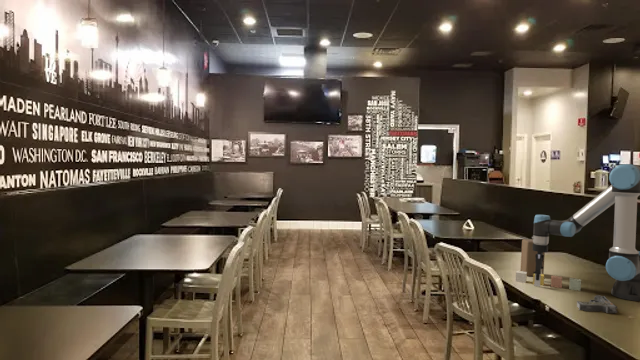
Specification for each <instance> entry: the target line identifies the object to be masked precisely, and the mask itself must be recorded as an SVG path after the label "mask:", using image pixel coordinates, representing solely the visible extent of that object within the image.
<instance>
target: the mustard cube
mask: <svg viewBox="0 0 640 360" xmlns="http://www.w3.org/2000/svg"><path fill="white" fill-rule="evenodd" d="M534 281H535V274H533V276H532V284H533V285H534ZM544 285H545V274H541V279H540V286H544Z"/></svg>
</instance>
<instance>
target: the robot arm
mask: <svg viewBox="0 0 640 360" xmlns="http://www.w3.org/2000/svg"><path fill="white" fill-rule="evenodd" d="M608 178H609V182H610V184H611V185H609V186H608V187H607V188H606V189H604V190H603V191H602V192H600V193H599V194H598V195H597V196H595V197H594V198H593V199H592V200H590V201H589V202H587V203H586V204H585V205H584V206H583V207H582V208H580V209H579V210H577V212H575V213H574V214H573V215H572V216H570V217H569V218H568V219H565V220H556V219H551V216H550V215H546V214H535V216H534V218H533V232H532V233H533V234H532V236H531V239H533V246H532V250H533V251H537V254H536V255H535V258H536V260H535V262H536V268H535V272H534V274H535V281H534V284H533V286H534V287H541V285H540V279H541V274H542V269H545V266H544V267H542V266H543V265H542V263H543V259H544V260H545V257H544V255H543V252H545V253H548V252H549V245H548V244H549V241H550V235H554V236H561V237H565V238H566V237H568V238H569V237H570V238H572V237H574V236H575V234H577V233H579V232H580V231H581V230H582V228H583V227H585V226H586V225H587V224H589V223H590V222H591V221H592V220H595V218H596V217H598V216H599V215H601V214H602V213H603V212H605V211H606V210H607V209H608V208H611V206H613V205H614V219H613V222H614V223H613V240H612V241H613V242H612V243H613V244H612V247H610V248H609V253H608V259H607V260H606V263H605V270H606V273H607V274H608V275H609V276H610V277H611V278H613V279H615V281H614V282H613V285H612V288H611V293H610V294H611V295H612V296H613V297H616V298H619V299H623V300H628V301H634V302H640V251H639V250H637V249H636V240H637V239H636V238H637V237H636V236H637V234H636V233H637V216H638V215H637V213H638V197H639V196H640V165H637V164H631V163H623V164H619V165H617V166H615V167H613V169H612V170H611V171H610V173H609V177H608Z"/></svg>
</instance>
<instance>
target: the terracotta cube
mask: <svg viewBox="0 0 640 360" xmlns="http://www.w3.org/2000/svg"><path fill="white" fill-rule="evenodd" d="M550 277H551V279H550V287H551V288H558V289H562V288H563V287H562V286H563V276H560V275H551V276H550Z"/></svg>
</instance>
